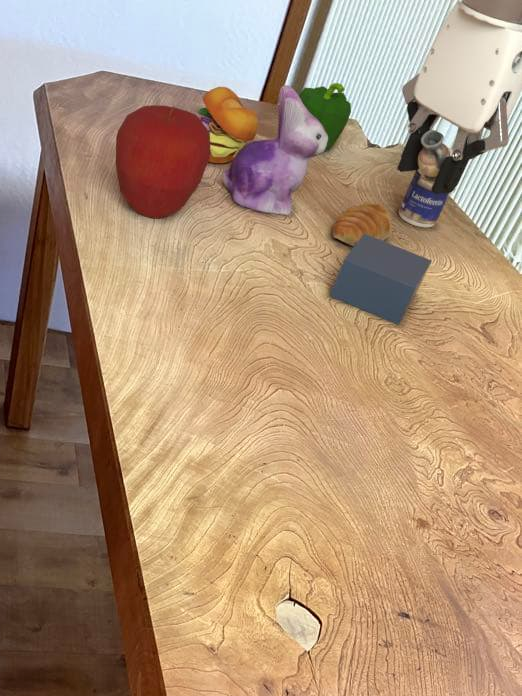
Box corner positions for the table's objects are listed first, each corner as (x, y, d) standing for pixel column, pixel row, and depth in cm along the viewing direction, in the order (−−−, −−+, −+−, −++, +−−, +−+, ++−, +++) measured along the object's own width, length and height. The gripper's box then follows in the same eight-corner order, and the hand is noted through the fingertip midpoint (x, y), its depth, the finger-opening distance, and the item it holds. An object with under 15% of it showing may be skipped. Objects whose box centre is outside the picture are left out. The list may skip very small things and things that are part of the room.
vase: (420, 197, 99) (442, 141, 94) (389, 176, 102) (409, 121, 98) (455, 194, 101) (478, 140, 97) (424, 174, 104) (444, 121, 100)
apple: (175, 190, 122) (200, 89, 113) (207, 233, 115) (236, 128, 106) (93, 187, 118) (111, 81, 109) (120, 231, 111) (142, 121, 102)
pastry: (359, 256, 119) (370, 229, 116) (317, 234, 121) (327, 207, 118) (391, 239, 124) (402, 213, 122) (350, 218, 127) (360, 192, 124)
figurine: (309, 215, 125) (348, 104, 114) (249, 218, 121) (284, 103, 110) (273, 184, 130) (307, 75, 120) (214, 186, 126) (245, 73, 115)
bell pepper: (281, 130, 147) (301, 65, 140) (327, 137, 148) (349, 74, 141) (293, 152, 141) (314, 85, 134) (341, 159, 142) (365, 94, 136)
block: (349, 269, 115) (364, 233, 112) (415, 296, 114) (432, 260, 110) (329, 296, 109) (344, 258, 106) (398, 324, 107) (415, 287, 104)
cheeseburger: (173, 129, 138) (205, 66, 131) (234, 162, 140) (268, 102, 133) (167, 153, 130) (200, 87, 124) (232, 187, 132) (267, 124, 126)
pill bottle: (398, 222, 129) (427, 154, 122) (395, 206, 133) (424, 139, 126) (436, 232, 129) (468, 164, 122) (433, 216, 133) (463, 149, 126)
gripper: (593, 33, 86) (501, 213, 98) (463, -27, 94) (394, 146, 107) (547, 32, 82) (457, 220, 95) (416, -29, 91) (350, 150, 103)
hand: (424, 179), depth 101 cm, fingers closed on vase, 4 cm apart
